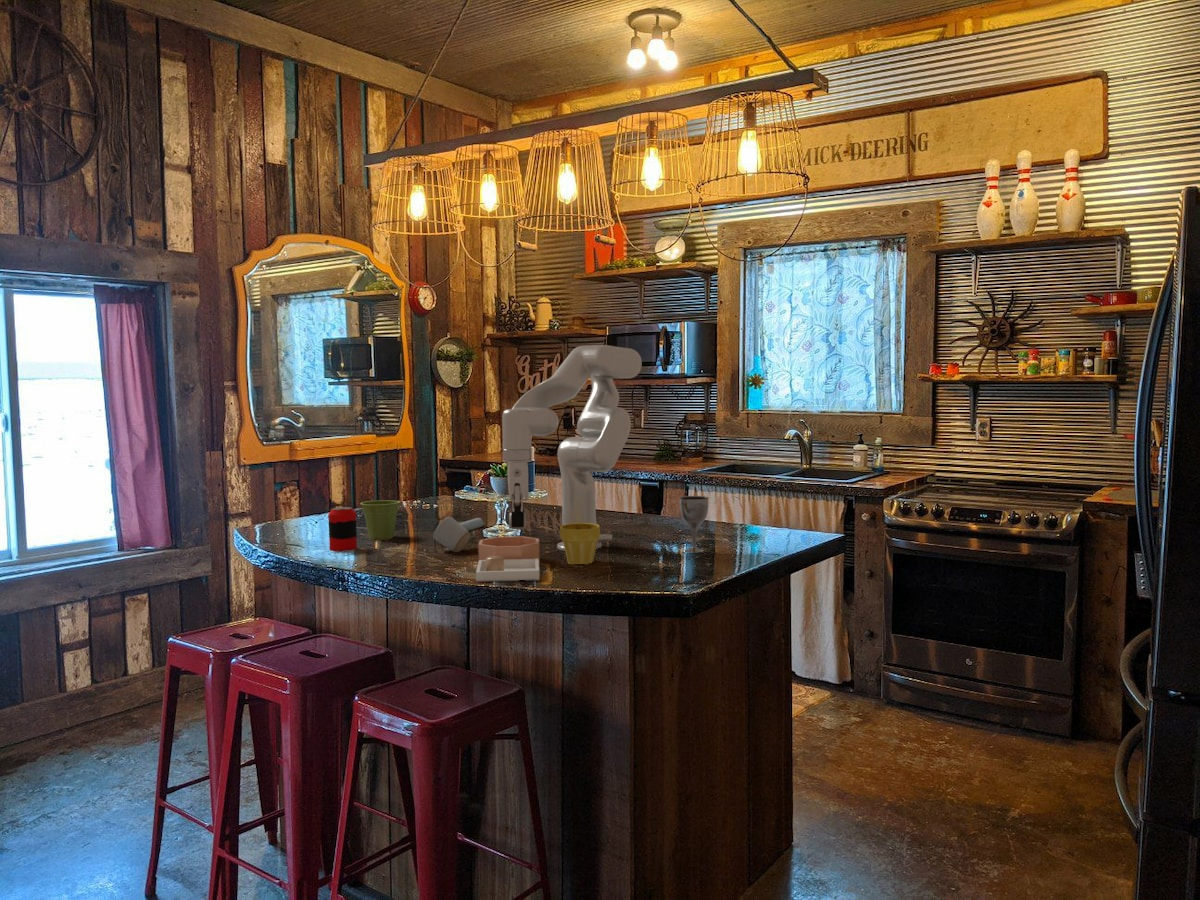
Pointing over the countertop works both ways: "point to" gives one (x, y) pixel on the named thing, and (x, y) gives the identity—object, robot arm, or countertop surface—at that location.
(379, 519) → the plant pot
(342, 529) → the soda can
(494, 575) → the parts tray
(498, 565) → the tan pebble
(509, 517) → the slate pebble
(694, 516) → the wine glass
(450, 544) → the ceramic mug
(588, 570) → the countertop surface
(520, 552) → the bowl
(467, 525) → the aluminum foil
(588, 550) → the plant pot
